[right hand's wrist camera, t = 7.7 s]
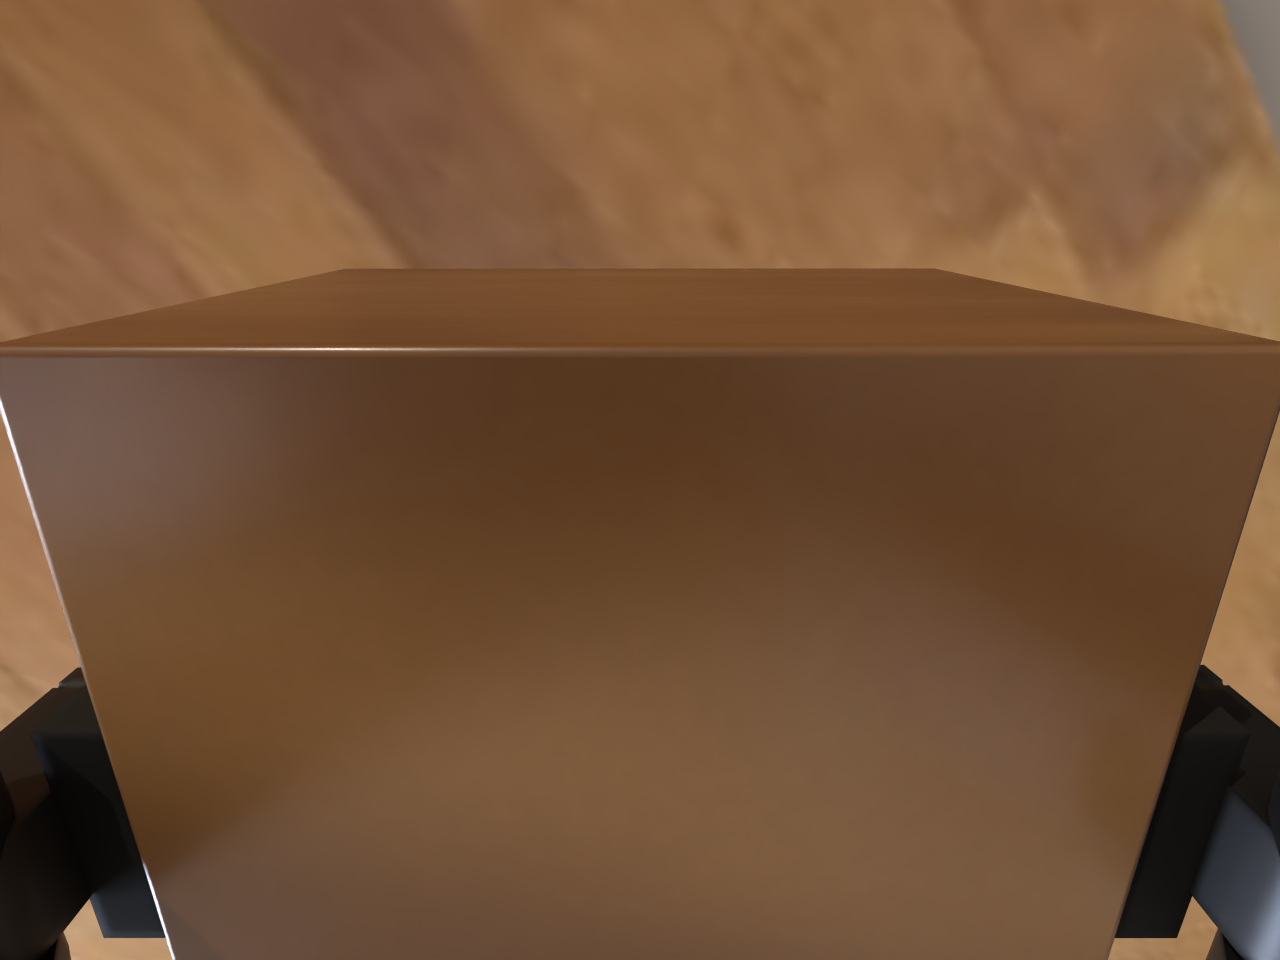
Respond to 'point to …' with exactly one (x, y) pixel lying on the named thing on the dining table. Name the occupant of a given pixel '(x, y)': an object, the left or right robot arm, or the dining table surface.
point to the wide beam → (640, 604)
